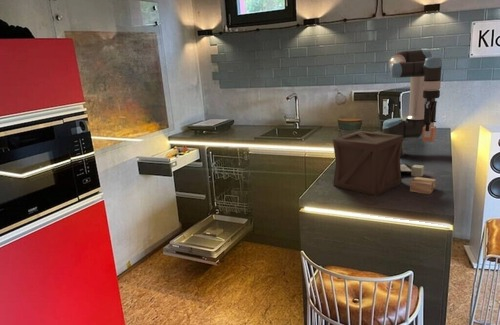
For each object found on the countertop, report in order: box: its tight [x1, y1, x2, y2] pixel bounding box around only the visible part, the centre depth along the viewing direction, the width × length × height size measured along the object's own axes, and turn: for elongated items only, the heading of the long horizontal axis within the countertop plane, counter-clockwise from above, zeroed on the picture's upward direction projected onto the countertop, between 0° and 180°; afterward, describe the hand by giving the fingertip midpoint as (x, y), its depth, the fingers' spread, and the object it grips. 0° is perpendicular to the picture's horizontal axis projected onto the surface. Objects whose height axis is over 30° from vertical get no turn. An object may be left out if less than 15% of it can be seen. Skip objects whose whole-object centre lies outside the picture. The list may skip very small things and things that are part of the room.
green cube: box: [410, 164, 425, 178], centre depth 206 cm, size 5×5×5 cm
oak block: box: [409, 176, 436, 195], centre depth 184 cm, size 9×9×5 cm
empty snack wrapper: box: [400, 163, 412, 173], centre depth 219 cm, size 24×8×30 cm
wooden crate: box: [332, 130, 404, 197], centre depth 195 cm, size 25×25×25 cm
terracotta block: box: [421, 125, 437, 143], centre depth 193 cm, size 5×5×7 cm
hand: (428, 136), depth 193 cm, fingers closed on terracotta block, 5 cm apart
